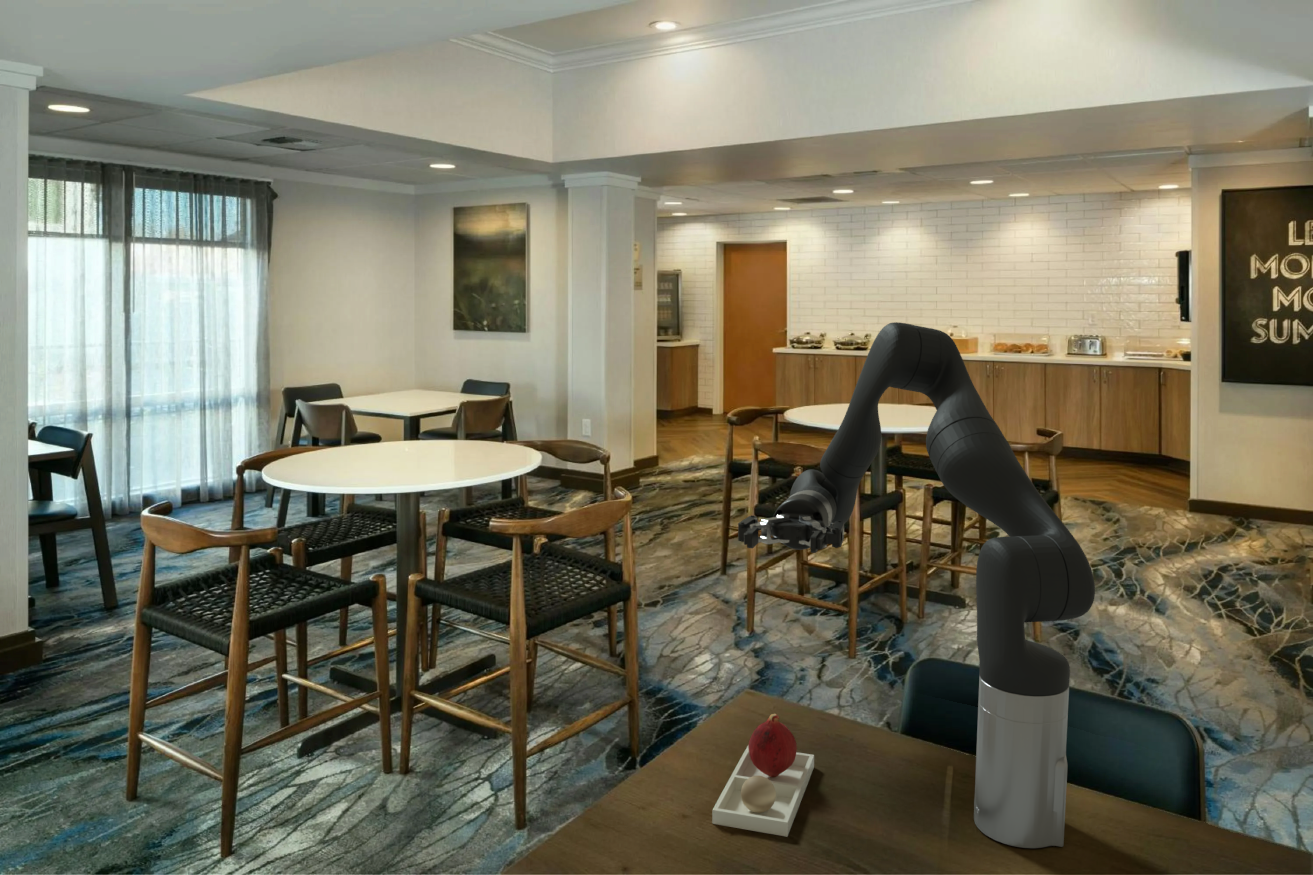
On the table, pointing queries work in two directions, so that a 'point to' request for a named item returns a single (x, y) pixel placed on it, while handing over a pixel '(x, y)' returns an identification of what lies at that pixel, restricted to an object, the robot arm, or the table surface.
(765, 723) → the onion
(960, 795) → the table surface
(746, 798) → the beige wooden ball
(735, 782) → the white divided tray
